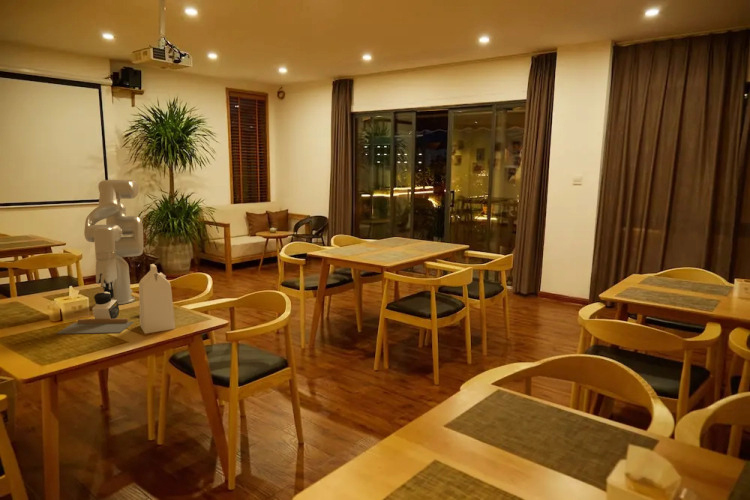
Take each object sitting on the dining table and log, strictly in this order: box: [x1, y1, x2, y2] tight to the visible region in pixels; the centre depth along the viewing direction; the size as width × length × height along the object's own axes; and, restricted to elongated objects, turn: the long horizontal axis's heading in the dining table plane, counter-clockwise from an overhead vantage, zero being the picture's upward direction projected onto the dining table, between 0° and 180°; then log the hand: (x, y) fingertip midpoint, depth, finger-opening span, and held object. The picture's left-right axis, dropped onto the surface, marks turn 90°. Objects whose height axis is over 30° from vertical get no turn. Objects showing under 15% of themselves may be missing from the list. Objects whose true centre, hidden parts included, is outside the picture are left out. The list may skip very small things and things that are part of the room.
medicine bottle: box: [91, 291, 121, 319], centre depth 208 cm, size 7×7×12 cm
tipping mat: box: [56, 317, 134, 335], centre depth 200 cm, size 13×24×2 cm, turn 94°
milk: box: [138, 263, 176, 334], centre depth 201 cm, size 12×12×26 cm
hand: (109, 297), depth 212 cm, fingers closed
